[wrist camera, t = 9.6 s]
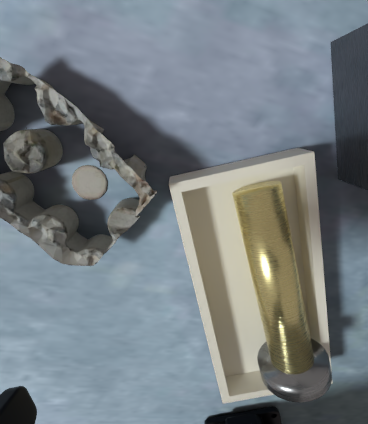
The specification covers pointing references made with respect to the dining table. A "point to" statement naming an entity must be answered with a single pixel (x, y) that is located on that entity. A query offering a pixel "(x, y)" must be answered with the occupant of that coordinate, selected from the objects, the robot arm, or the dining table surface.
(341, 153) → the block
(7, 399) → the robot arm
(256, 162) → the tray
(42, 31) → the dining table surface
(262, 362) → the pin
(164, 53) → the dining table surface
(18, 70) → the egg carton
